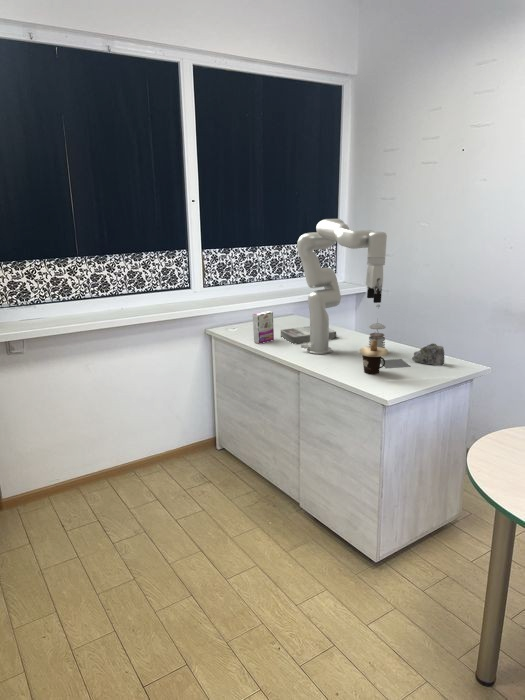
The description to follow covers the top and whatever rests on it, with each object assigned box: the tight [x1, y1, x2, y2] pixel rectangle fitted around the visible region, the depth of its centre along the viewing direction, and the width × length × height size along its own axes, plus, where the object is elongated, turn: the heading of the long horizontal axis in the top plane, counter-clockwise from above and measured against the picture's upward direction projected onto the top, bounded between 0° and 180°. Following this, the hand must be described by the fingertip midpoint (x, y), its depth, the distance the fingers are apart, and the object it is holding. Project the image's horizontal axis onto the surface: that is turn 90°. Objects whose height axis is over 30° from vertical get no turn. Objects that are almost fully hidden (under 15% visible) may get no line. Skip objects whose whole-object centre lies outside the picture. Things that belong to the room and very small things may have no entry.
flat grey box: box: [280, 325, 338, 345], centre depth 286 cm, size 18×27×4 cm
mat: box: [380, 358, 412, 369], centre depth 235 cm, size 12×12×1 cm
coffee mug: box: [362, 355, 386, 375], centre depth 221 cm, size 12×9×10 cm
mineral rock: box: [411, 342, 445, 366], centre depth 234 cm, size 13×11×10 cm
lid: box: [359, 339, 389, 358], centre depth 218 cm, size 12×12×6 cm
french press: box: [368, 303, 386, 349], centre depth 249 cm, size 10×12×25 cm
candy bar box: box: [252, 310, 275, 344], centre depth 279 cm, size 11×5×16 cm, turn 131°
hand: (373, 300), depth 222 cm, fingers open, 9 cm apart
